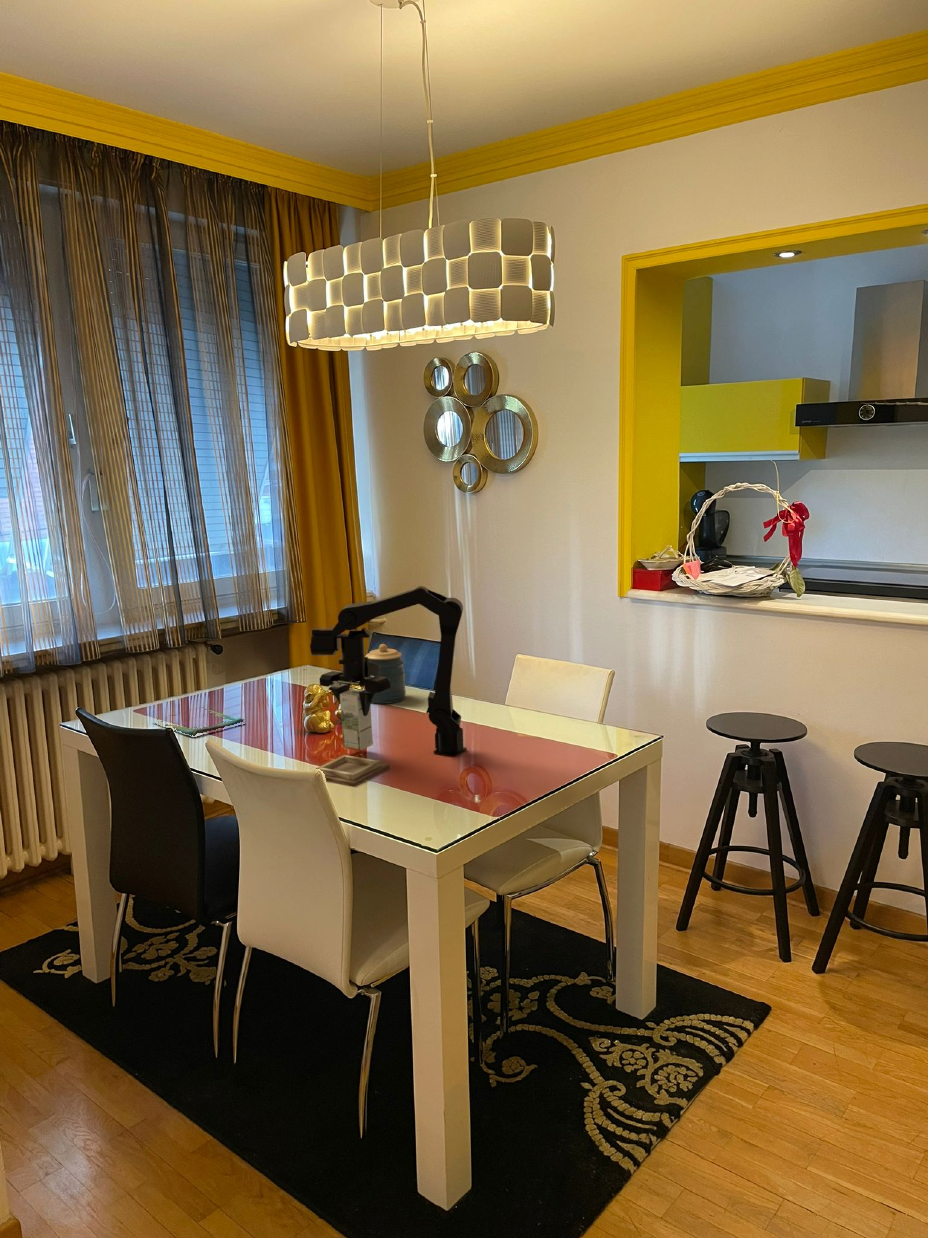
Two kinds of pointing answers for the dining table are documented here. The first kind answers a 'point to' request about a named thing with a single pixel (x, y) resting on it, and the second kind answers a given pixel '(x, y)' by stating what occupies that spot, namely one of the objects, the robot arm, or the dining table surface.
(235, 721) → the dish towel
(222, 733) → the dining table surface
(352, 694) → the syrup box
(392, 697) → the canister
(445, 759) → the dining table surface
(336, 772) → the socket stand
